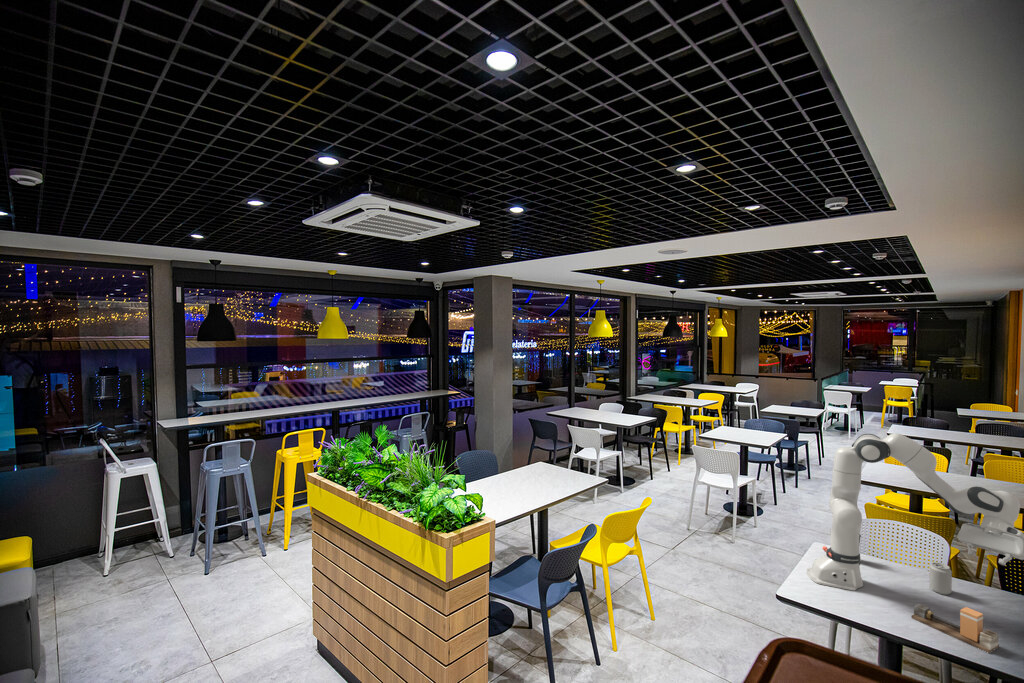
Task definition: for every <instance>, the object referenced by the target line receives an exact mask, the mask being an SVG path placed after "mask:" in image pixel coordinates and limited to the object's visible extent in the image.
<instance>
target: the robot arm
mask: <svg viewBox="0 0 1024 683" xmlns="http://www.w3.org/2000/svg"><path fill="white" fill-rule="evenodd" d="M890 457H891V458H893V459H895V460H897V461H898V462H899V463H900V464H902V465H904V466H905V467H906V468H908V469H909V470H910V471H911V472H913V474H914V475H915V476H916V477H917V478H918V479H919V480H920V481H921V482H922V483H924V485H925V486H927V487H928V488H929V489H930V490H932V491H933V492H934V493H935V494H937V495H938V496H939V497H940V498H941V499H942V500H943V501H944V502H945V503H946V504H947V506H948V507H949V508H950V509H951V510H952V511H953V512H954V513H956V514H958V515H960V516H963V517H970V516H973V515H975V514H982V515H983V518H982V521H981V524H977V523H972V522H964V523H962V525H961V527H960V529H959V532H958V533H957V535H956V536H957V539H958V541H959V542H960V543H961V544H964V545H966V547H967V554H968V556H971V557H975V554H976V552H975V551H974V550H973V549H974V547H975V548H979V549H982V550H985V551H986V550H987V551H990V552H993V553H996V554H1000V555H1003V556H1005V557H1003V558H998V561H997V562H998V564H999V565H1001V566H1006V563H1008V562H1009V561H1011V560H1013V558H1015V559H1018V560H1021V561H1023V560H1024V533H1023V531H1021V530H1019V529H1017V528H1015V522H1016V521H1017V519H1018V517H1019V513H1020V510H1021V503H1020V500H1019V499H1018V497H1017V496H1015V495H1014V494H1011V493H1010V492H1008V491H1005V490H991V489H986V488H985V487H982V486H971V487H968V488H964V489H961V490H960V489H956V488H954V487H952V485H951V484H949V483H948V482H947V481H946V480H944V479H943V478H942V477H940V476H939V475H938V474H937V472H936V468H937V464H938V462H937V457H936V456H935V455H934V454H933V453H932V452H931V451H930V450H928V449H927V448H926V447H924V446H923V445H921V444H920V443H918V442H917V441H915V440H913V439H912V438H910V437H907V436H905V435H904V434H901V433H898V432H893V433H891V434H889V435H887V436H886V437H885V438H880V437H879V436H878V435H875V434H872V433H864V434H861V435H860V436H858V437H857V438H856V439H855V440H854V442H853V443H852V444H851V446H841V447H838V448H837V449H836V451H835V453H834V456H833V462H832V463H833V464H832V475H831V476H832V480H831V489H830V494H829V501H828V503H829V504H828V507H829V509H830V511H831V514H832V524H831V531H830V547H829V548H828V547H827V546H825V545H824V546H822V550H823V551H824V552H825V555H822V556H820V557H819V558H817V559H815V560H813V562H812V565H811V567H808V568H806V574H807V576H808V577H809V579H810V580H811V581H813V582H815V583H816V584H819V585H822V586H823V585H824V586H827V587H833V588H838V589H844V590H850V591H856V590H858V589H859V588H862V587H863V586H864V582H863V579H862V574H861V568H860V566H861V561H862V560H861V553H860V544H859V536H860V535H861V529H862V523H863V522H862V521H863V516H862V513H861V511H860V509H859V507H858V499H859V494H860V492H861V485H862V467H863V463H864V462H866V463H868V464H869V463H870V464H875V463H879V462H881V461H883V460H886V459H888V458H890Z"/></svg>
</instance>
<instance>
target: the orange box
mask: <svg viewBox="0 0 1024 683" xmlns="http://www.w3.org/2000/svg"><path fill="white" fill-rule="evenodd" d="M959 616H960V618H959V621H960V622H959V626H960V635H963V636H965V637H967V638H969V639H972V640H974V641H976V642H978V641H979V635H980V632H982V633H983V631H984V628H983V627H984V613H982V612H981V611H977V610H975V609H972V608H969V607H967V606H965V607H963V608H961V609H960V610H959Z"/></svg>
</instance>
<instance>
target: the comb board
mask: <svg viewBox="0 0 1024 683" xmlns="http://www.w3.org/2000/svg"><path fill="white" fill-rule="evenodd" d="M910 617H911V619H913V620H915V621H918V622H919V623H921V624H924V625H926V626H928V627H931V629H934V630H936V631H939V632H941V633H943V634H945V635H947V636H949V637H952V638H954V639H956V640H958V641H961V642H963V643H965V644H968V645H969V646H972V647H974V648H976V649H978V648H979V649H978V650H980V649H981V650H980V651H982V650H984V651H986V652H985V653H987V652H988V653H987V654H991V653H992V652H994V651H995V650H994V649H996V648H997V649H999V648H1000V644H999V635H998V634H999V633H997V632H995V631H994V630H990V629H988V628H986V629H985V630H983V633H982V632H980V635H979V641H978V642H976V641H974V640H972V639H969V638H967V637H965V636H963V635H960V625H958V624H957V623H956V624H955V623H953V622H951V621H949V620H946V619H944V618H942V617H940V616H938V615H936V614H934V612H933V611H931V610H930V607H928V606H926V605H924V604H921V603H918V604H915V605H914V606H913V614H912V615H911V616H910ZM998 647H999V648H998ZM997 649H996V650H997ZM993 650H994V651H993ZM984 651H983V652H984ZM991 651H992V652H991ZM990 652H991V653H990Z"/></svg>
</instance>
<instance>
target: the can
mask: <svg viewBox="0 0 1024 683" xmlns="http://www.w3.org/2000/svg"><path fill="white" fill-rule="evenodd" d="M928 572H929V581H928V582H929V588H930V589H931V591H933V592H935V593H937V594H940V595H944V596H945V595H947V596H948V595H950V594H952V593H953V592H952V587H953V585H952V583H953V580H952V579H953V576H952V574H953V571H952V570H951V567H950V566H949V565H947V564H944V563H942V562H931V563H930V565H929V571H928Z"/></svg>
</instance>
